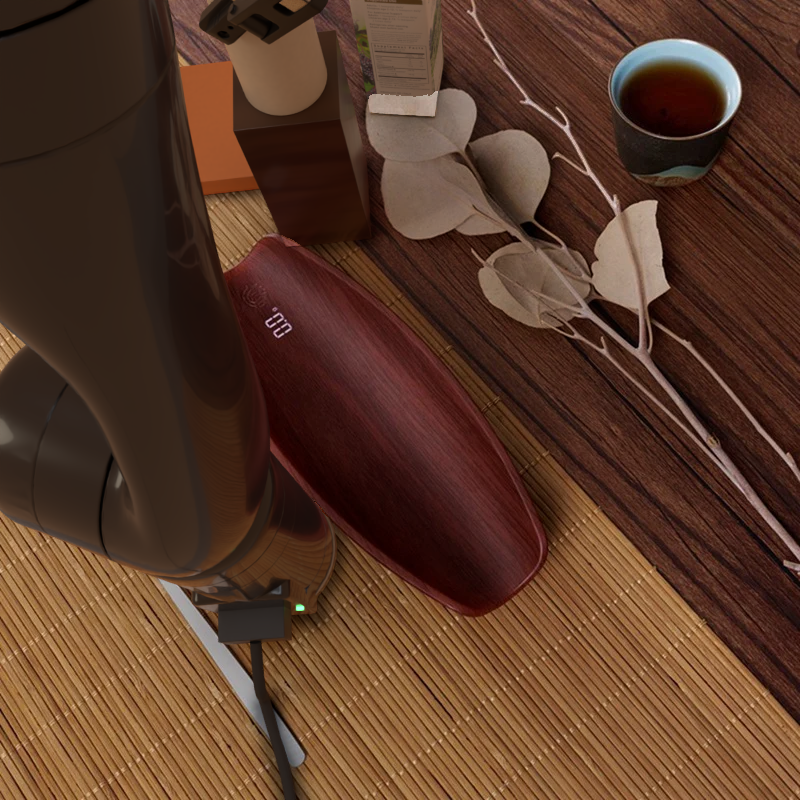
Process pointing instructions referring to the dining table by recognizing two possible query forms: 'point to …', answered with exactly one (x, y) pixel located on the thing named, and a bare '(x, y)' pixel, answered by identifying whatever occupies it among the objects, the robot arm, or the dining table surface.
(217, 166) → the stand
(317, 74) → the white bottle
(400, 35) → the syrup box
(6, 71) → the robot arm
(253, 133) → the column
